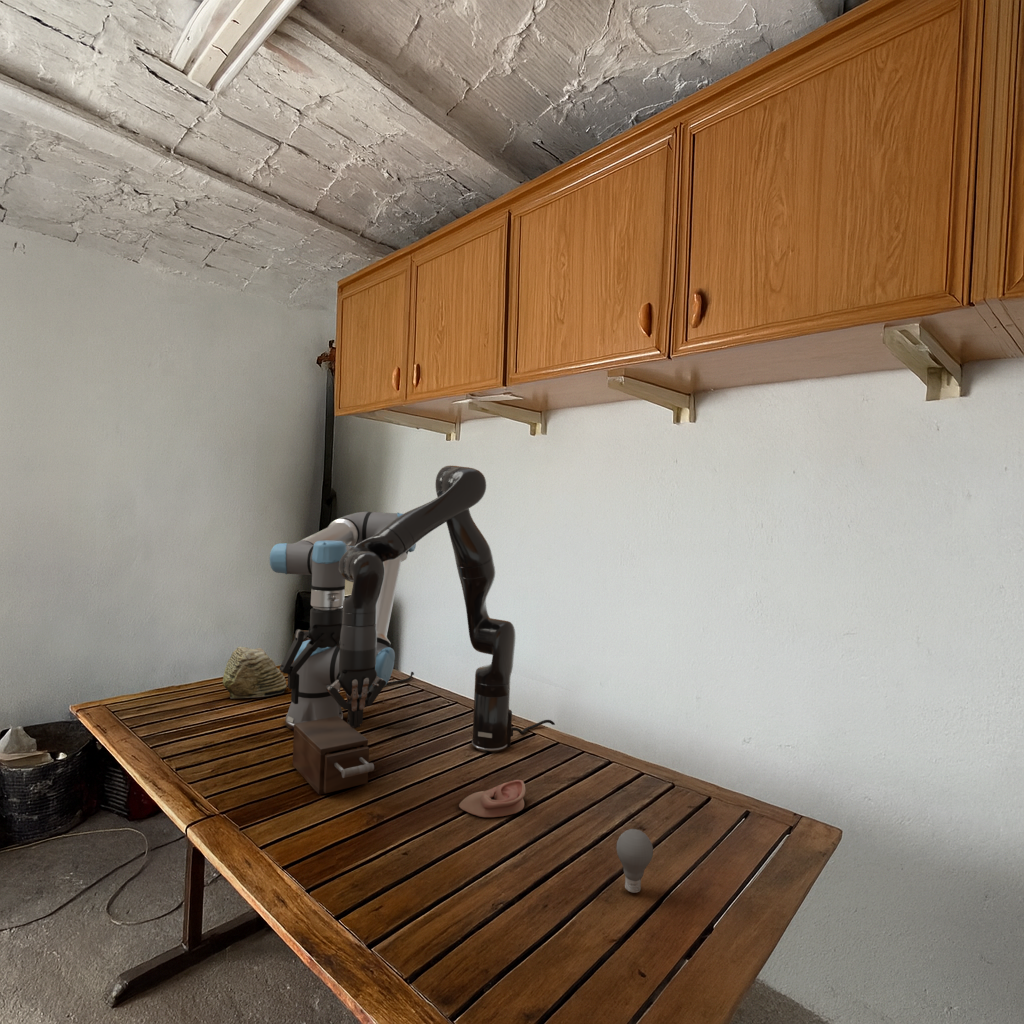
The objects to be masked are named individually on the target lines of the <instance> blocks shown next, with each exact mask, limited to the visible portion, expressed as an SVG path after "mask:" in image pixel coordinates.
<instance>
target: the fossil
mask: <svg viewBox="0 0 1024 1024" xmlns="http://www.w3.org/2000/svg"><path fill="white" fill-rule="evenodd" d="M222 676H223V677H222V685H223V687H224V688H225V690H226V691H228V693H229V698H230V699H250V698H264V697H271V696H275V695H281V694H284V693H285V691H286V689H287V688H288V684H287V680H286V678H285V676H284V674H283V672H282V671H280V669H279V668H278V667H277V665H276V663H275V662H274V660H273V659H272V658H271V657H270V656H269V655H268V654H267V653H266V652H265V650H264V649H263V648H260V647H258V648H251V647H247V646H246V647H245V646H238V647H237V648H236V649H235V650H233V651H232V653H231V656H230V657H229V659H228V660H227V663H226V666H225V668H224V671H223V675H222Z"/></svg>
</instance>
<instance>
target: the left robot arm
mask: <svg viewBox="0 0 1024 1024" xmlns="http://www.w3.org/2000/svg"><path fill="white" fill-rule="evenodd" d="M402 514H403V513H400V512H377V511H360V512H359V511H358V512H354V513H349V514H346V515H343V516H342V517H338V518H336V519H334V520H333V521H331V522H330V523H329V525H328V526H327V527H325V528H323V529H322V530H319V531H318V532H315V533H313V534H311V535H309V536H307V537H304V538H302V539H300V540H298V541H296V542H294V543H288V542H285V543H283V542H281V543H276V544H274V545H273V546H272V548H271V550H270V553H269V565H270V568H271V571H273V573H276V574H284V575H301V576H303V575H305V576H311V593H310V606H311V607H312V608H311V609H310V611H309V612H310V616H309V628H308V630H303V629H301V628H297V629H296V630H295V633H294V639H293V641H292V643H291V645H290V646H289V649H288V651H287V652H286V655H285V656H284V658H283V660H282V662H281V664H280V666H279V668H278V669H279V670H280V672H281V673H282V674H287V688H288V689H289V690H291V691H290V692H291V694H290V695H291V697H290V704H289V708H288V711H287V713H286V715H285V726H286V728H287V729H289V730H291V731H294V724H295V723H301V722H307V721H313V720H318V719H324V718H330V717H335V716H339V717H340V718H341V719H342V720H344V714H343V708H342V707H341V706H340V705H339V704H338V703H337V702H336V701H335V699H334V698H333V697H332V696H331V694H330V693H329V692H328V691H327V690H326V686H327V685H332V684H333V683H334V682H335V681H336V680H337V675H338V673H339V653H340V644H339V641H340V633H341V627H342V609H343V601H344V599H345V598H346V595H345V594H346V579H344V578H343V577H342V576H341V575H340V573H339V569H338V565H339V561H340V559H341V557H342V556H343V554H344V553H345V552H346V551H347V550H349V549H350V548H351V547H353V546H355V545H356V544H358V543H360V542H362V541H364V540H366V539H367V538H369V537H372V536H374V535H376V534H377V533H379V532H380V531H381V530H382V529H383V528H385V527H386V526H387V525H388V524H390V523H391V522H392V521H394V520H395V519H396V518H398V517H399V516H401V515H402ZM416 546H417V543H416V544H415V545H413V546H412V547H411V548H410V549H409V550H407V551H406V552H405V553H404V554H402V555H401V556H400V557H398V558H396V559H393V560H387V561H384V562H383V563H384V569H385V573H384V580H383V584H382V588H381V592H380V596H379V599H378V602H377V614H376V630H377V645H376V666H375V670H376V672H377V676H378V677H379V678H381V679H383V680H385V681H386V685H385V686H384V688H386V686H389V685H394V684H399V683H404V682H408V681H410V680H411V679H412V677H413V676H414V675H415V673H414V671H410V675H409V677H406V678H404V679H399V680H393V681H390V680H391V677H392V674H393V671H394V666H395V659H396V653H395V650H394V648H392V647H391V644H392V643H391V641H390V640H389V639H388V631H389V626H390V621H391V616H392V611H393V605H394V601H395V595H396V592H397V591H396V590H397V586H398V585H397V584H398V580H399V574H400V570H401V564H402V563H403V562H404V561H406V560H407V559H408V556H409V555H408V554H409V553H412V552H414V551H415V549H416ZM307 637H308V638H309V639H307ZM306 639H307V640H306ZM371 687H372V685H371V686H370V688H371ZM370 688H369V689H370ZM340 689H343V688H342V687H341V685H340ZM369 689H368V690H367V692H368V691H369Z"/></svg>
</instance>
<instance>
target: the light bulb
mask: <svg viewBox="0 0 1024 1024" xmlns="http://www.w3.org/2000/svg"><path fill="white" fill-rule="evenodd" d="M615 849H616V854H617V857H618V859H619V861H620V863H621V865H622V867H623V873H624V874H623V875H624V876H625V878H624V888H625V890H627V891H628V892H630V893H634V894H635V893H639V892H640V891H641V889H642V887H641V886H642V879H643V877H644V875H645V871H646V868H647V867H648V866H649V864H650V863H651V861H652V859H653V855H654V847H653V843H652V841H651V838H649V836H648V835H647V834H646V833H645V832H643V831H642V830H641V829H636V828H629V829H627V830H625V831H623V832H622V833H621V834H620V835H619V837H618V839H617V841H616V847H615Z"/></svg>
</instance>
